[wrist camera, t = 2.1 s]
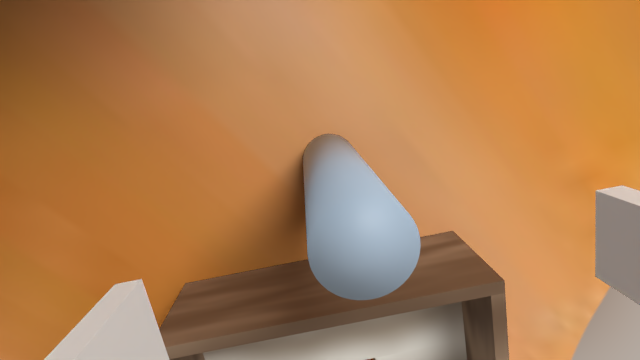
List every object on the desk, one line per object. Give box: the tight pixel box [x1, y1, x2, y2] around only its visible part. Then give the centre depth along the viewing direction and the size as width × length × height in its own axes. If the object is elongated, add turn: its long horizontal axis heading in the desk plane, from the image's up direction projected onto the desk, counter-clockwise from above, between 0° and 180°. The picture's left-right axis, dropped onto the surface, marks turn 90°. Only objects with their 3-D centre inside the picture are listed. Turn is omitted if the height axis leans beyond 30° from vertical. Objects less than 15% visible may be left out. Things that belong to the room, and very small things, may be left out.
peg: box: [303, 134, 421, 300], centre depth 18 cm, size 4×4×14 cm
